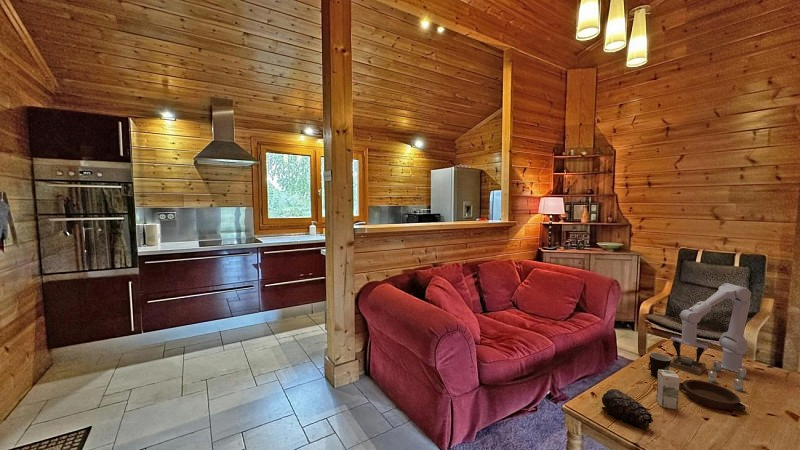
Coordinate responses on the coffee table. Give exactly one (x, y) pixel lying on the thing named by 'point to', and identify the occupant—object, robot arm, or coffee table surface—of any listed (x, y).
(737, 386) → the cylinder
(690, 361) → the grey cube
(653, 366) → the coffee mug
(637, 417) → the pine cone
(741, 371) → the cylinder
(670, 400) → the syrup box
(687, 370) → the square frame
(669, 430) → the coffee table surface
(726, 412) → the coffee table surface
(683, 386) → the dish
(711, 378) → the cylinder
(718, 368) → the cylinder
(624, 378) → the coffee table surface
